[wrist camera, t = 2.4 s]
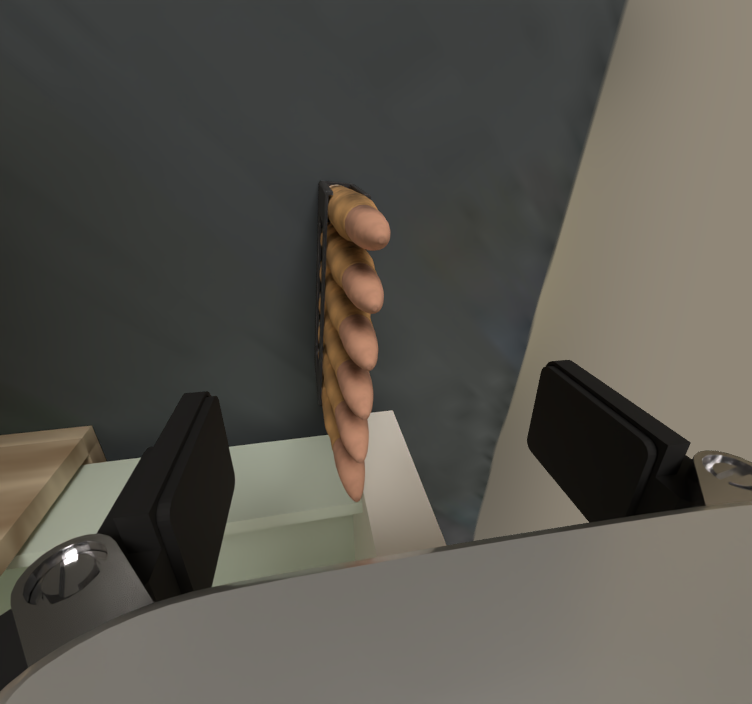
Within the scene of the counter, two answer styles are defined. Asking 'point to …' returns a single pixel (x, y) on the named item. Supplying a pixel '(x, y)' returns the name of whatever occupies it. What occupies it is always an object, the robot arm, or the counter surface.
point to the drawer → (271, 508)
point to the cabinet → (37, 478)
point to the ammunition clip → (347, 322)
